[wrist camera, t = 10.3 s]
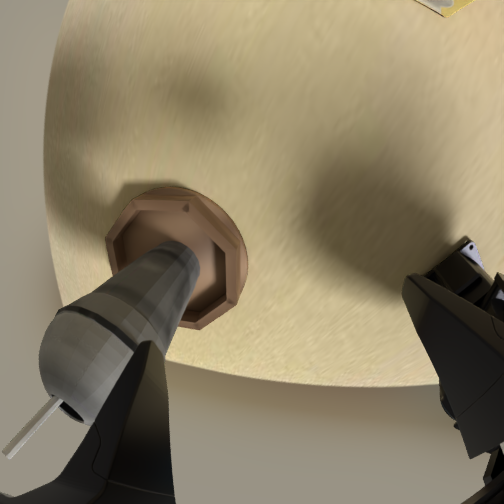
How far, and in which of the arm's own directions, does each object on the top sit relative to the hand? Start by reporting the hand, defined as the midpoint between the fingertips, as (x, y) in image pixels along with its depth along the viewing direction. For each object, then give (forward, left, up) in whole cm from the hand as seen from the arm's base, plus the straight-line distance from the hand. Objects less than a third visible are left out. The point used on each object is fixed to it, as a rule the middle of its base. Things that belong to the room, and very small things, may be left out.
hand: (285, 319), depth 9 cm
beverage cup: (+3, +11, -12) cm, 17 cm away
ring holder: (+3, +10, -13) cm, 17 cm away
